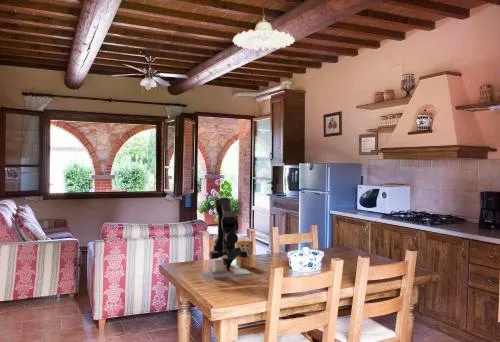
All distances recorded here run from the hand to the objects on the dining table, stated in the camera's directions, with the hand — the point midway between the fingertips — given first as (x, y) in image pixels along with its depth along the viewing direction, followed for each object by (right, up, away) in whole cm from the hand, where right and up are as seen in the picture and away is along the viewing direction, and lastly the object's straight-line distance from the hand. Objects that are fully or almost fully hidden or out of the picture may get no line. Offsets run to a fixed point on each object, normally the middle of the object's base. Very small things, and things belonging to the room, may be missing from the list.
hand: (227, 271), depth 218 cm
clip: (-1, 0, +5) cm, 5 cm away
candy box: (+8, -4, +28) cm, 29 cm away
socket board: (-1, -5, +8) cm, 10 cm away
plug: (-5, -4, +6) cm, 9 cm away
